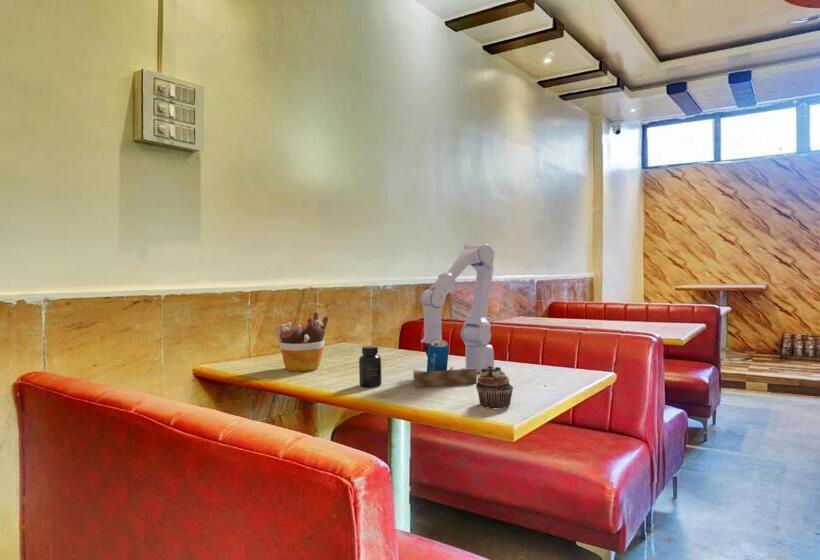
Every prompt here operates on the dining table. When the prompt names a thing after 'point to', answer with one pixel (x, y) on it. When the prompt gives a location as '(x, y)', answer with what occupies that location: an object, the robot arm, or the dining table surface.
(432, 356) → the beverage can
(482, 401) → the cupcake
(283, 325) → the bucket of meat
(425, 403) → the dining table surface
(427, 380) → the caddy
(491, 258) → the robot arm
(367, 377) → the supplement bottle
